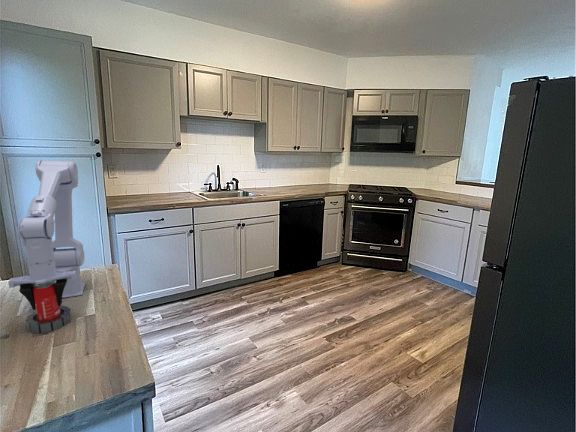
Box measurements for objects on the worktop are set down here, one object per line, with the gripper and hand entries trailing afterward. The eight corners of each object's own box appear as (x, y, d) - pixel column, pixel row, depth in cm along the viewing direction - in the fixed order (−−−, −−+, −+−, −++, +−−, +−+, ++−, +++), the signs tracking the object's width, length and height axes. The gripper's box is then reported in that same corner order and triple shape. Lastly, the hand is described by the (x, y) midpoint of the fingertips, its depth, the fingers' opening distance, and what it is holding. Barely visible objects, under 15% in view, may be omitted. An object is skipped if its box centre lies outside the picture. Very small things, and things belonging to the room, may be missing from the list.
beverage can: (49, 329, 86) (43, 289, 83) (34, 327, 87) (27, 287, 84) (66, 319, 91) (60, 281, 88) (51, 317, 92) (45, 279, 89)
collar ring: (31, 317, 91) (30, 309, 91) (73, 310, 96) (72, 303, 96) (22, 336, 83) (21, 328, 82) (68, 327, 87) (67, 319, 87)
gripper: (1, 269, 78) (9, 318, 82) (71, 262, 85) (76, 307, 88) (10, 260, 85) (17, 306, 88) (74, 253, 91) (79, 296, 94)
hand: (47, 306), depth 88 cm, fingers closed on beverage can, 5 cm apart
